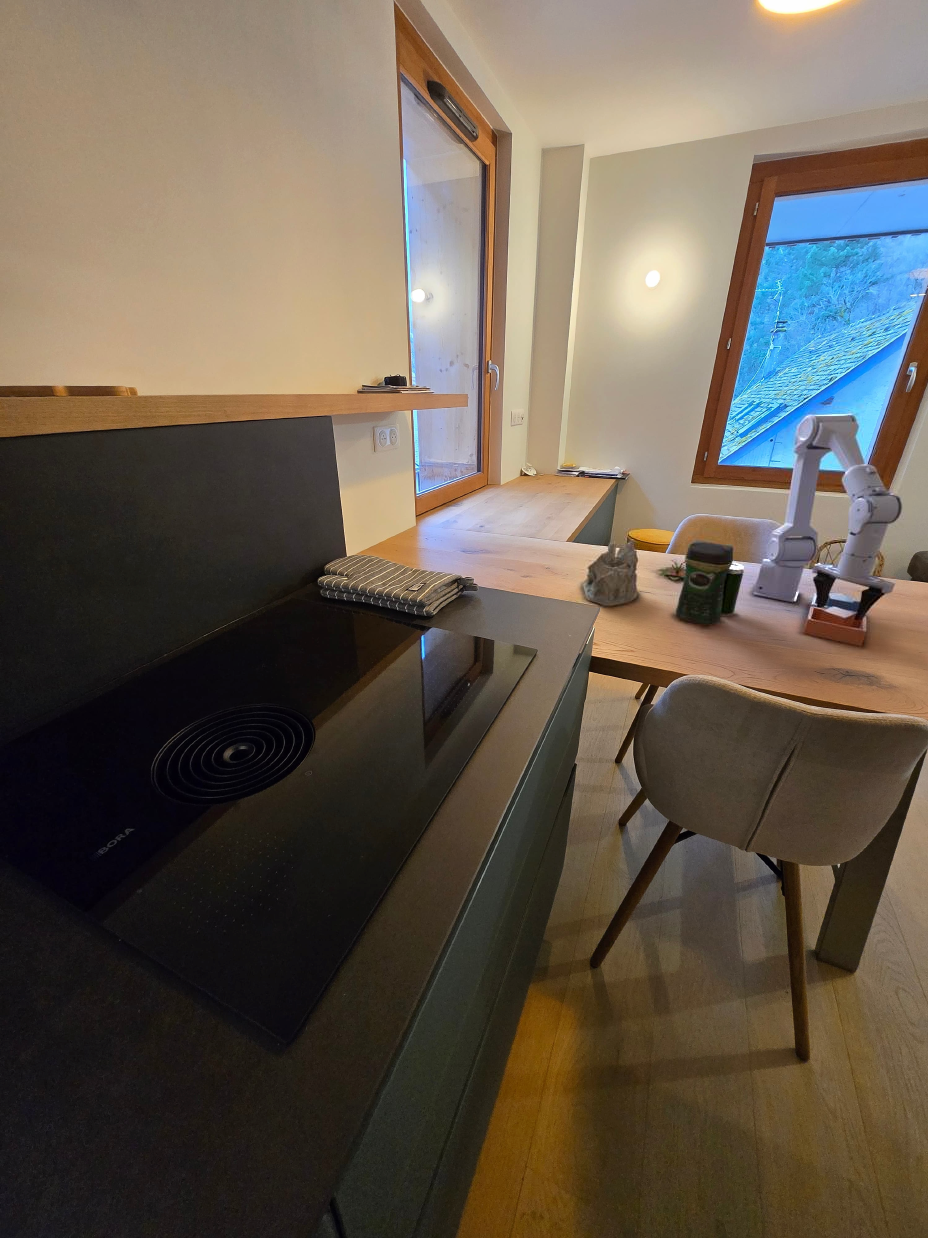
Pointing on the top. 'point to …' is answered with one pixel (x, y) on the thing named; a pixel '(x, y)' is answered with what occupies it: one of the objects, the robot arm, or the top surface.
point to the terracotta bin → (835, 628)
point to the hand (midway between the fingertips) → (839, 612)
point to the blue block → (840, 601)
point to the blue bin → (814, 604)
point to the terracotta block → (838, 616)
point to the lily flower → (674, 571)
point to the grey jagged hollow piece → (613, 576)
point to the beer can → (731, 589)
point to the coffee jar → (704, 582)
